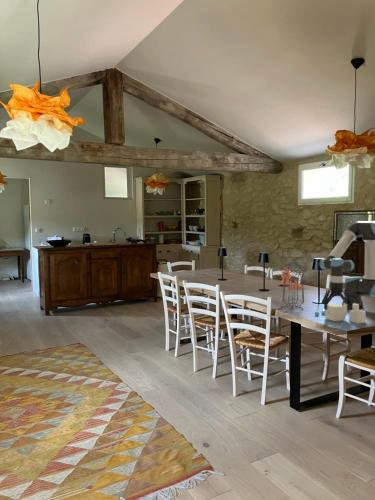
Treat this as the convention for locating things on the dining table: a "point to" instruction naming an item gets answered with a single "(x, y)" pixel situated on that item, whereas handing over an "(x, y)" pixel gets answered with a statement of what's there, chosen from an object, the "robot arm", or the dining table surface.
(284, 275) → the geometric lantern
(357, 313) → the medicine bottle
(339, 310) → the cream cube
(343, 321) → the coaster
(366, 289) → the robot arm
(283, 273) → the ceramic vessels
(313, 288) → the dining table surface
